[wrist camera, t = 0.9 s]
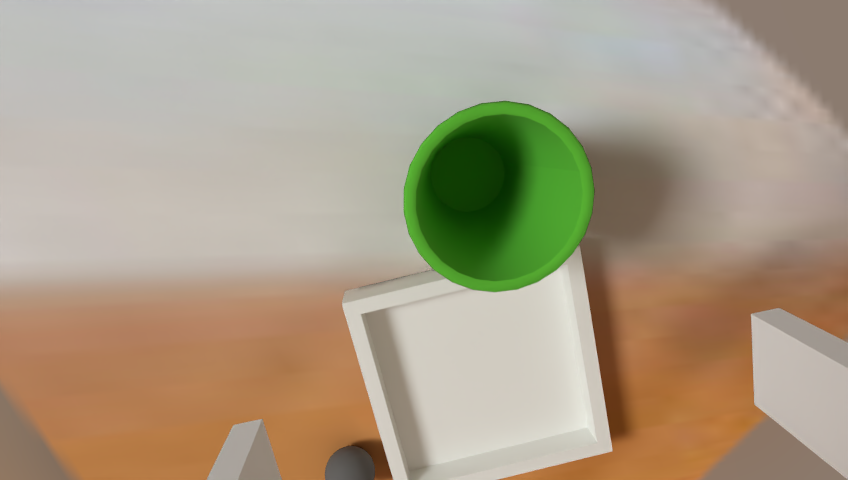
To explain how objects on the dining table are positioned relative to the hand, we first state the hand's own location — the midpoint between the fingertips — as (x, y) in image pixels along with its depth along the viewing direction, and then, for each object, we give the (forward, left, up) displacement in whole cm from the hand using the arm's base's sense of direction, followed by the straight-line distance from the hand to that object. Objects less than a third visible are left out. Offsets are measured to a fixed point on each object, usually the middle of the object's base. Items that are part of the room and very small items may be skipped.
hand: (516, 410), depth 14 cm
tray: (+11, +1, -22) cm, 25 cm away
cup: (-3, +3, -23) cm, 23 cm away
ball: (+16, -10, -22) cm, 29 cm away
